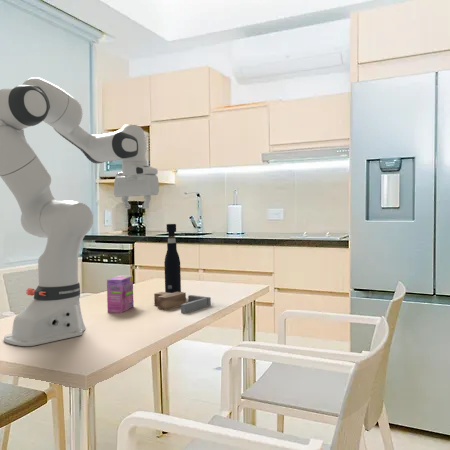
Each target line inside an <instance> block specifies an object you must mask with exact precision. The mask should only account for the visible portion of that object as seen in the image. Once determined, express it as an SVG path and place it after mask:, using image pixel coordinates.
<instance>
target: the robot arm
mask: <svg viewBox="0 0 450 450" xmlns="http://www.w3.org/2000/svg"><path fill="white" fill-rule="evenodd" d="M81 105H82V104H80V102H79V101H78V100H77V99H76V98H75V97H73V96H72V95H71V94H69V93H68V92H66V91H65V90H64V89H62V88H60V87H59V86H58V85H55V84H54V83H52V82H50V81H47V80H45V79H43V78H41V77H29V78H28V79H26V80H25V81H24V82H23V83H21V85H17V86H14V87H9V88H2V89H0V178H1V180H2V181H3V183H5V185H6V186H7V188H8V189H9V191H10V192H11V193H12V195H13V196H14V198H15V200H16V202H17V204H18V206H19V209H20V212H21V215H20V223H21V224H20V225H21V226H22V229H23V230H24V231H25V232H26V233H28V234H30V235H32V236H35V237H38V238H42V239H43V238H44V239H45V238H46V239H47V241H46V245H45V248H44V250H43V252H42V254H41V255H40V256H39V257H38V260H37V270H38V273H37V274H38V285H37V286H36V289H35V288H30V287H29V288H26V290H25V294H26V295H27V296H33V300H32V301H30V303H28V304H27V305H26V306H25V308H23V309H22V310H21V311H20V312H19V313H18V314H17V315H16V316H15V317H14V319H13V324H12V330H11V333H9V334H5V335H4V336H3V341H4V342H5V343H7V344H10V345H13V346H20V347H21V346H22V347H33V346H37V345H44V344H48V343H51V342H52V343H53V342H56V341H60V340H61V341H62V340H65V339H69V338H74V337H78V336H82V335H83V333H84V331H85V330H86V326H85V322H84V319H83V315H82V311H81V304H80V303H81V302H80V297H81V287H80V286H81V285H80V282H79V254H80V249H81V245H82V243H83V240H84V238H85V237H86V235H87V234H88V233H89V232H90V230H91V228H92V226H93V224H94V215H93V212H92V210H91V208H90V207H89V206H88V205H87V204H86V203H83V202H80V201H76V200H70V199H69V200H67V199H66V200H58V199H55V197H54V195H53V194H52V190H51V187H50V186H51V183H52V178H51V174H50V173H49V172H48V170H47V168H46V166H45V165H44V164H43V163H42V161H41V160H40V158H39V156H38V155H37V153H36V152H35V150H33V147H31V145H30V144H29V143H28V141H27V139H26V135H25V130H24V129H27V128H29V127H34V126H36V125H37V126H38V125H39V124H40V123H42V122H44V123H45V124H47V125H49V126H51V127H52V128H53V130H54V131H55V132H56V133H58V135H60V137H62V138H64V139H65V140H66V141H67V142H69V143H70V144H72V145H73V146H75V147H76V148H77V149H78V150H80V151H81V152H82V153H83V155H84V156H85V157H86V158H87V160H88V161H90V162H91V163H93V164H103V163H106V162H115V161H121V165H122V166H121V170H122V171H121V172H117V174H115V177H114V183H113V194H114V197H116V198H121V201H122V203H123V206H124V210H130V209H131V206H132V204H130V203H129V197H143V199H144V202H143V203H142V207H141V208H142V209H149V208H150V205H149V204H150V202H151V200H152V196H157V195H159V192H160V183H159V178H158V176H157V175H158V168H156V167H153V166H149V165H147V164H148V163H147V162H148V161H147V159H146V152H147V143H146V136H145V133H144V132H145V131H144V130H143V127H141V126H139V125H137V124H124V125H123V126H122V127H121V128H120V129H118V130H116V131H114V132H113V131H112V132H107V133H102V134H101V133H100V134H92V133H91V134H90V133H88V131H86V130H85V129H83V128H82V127H81V126H80V124H81V122H82V119H83V109H82V106H81Z"/></svg>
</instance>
